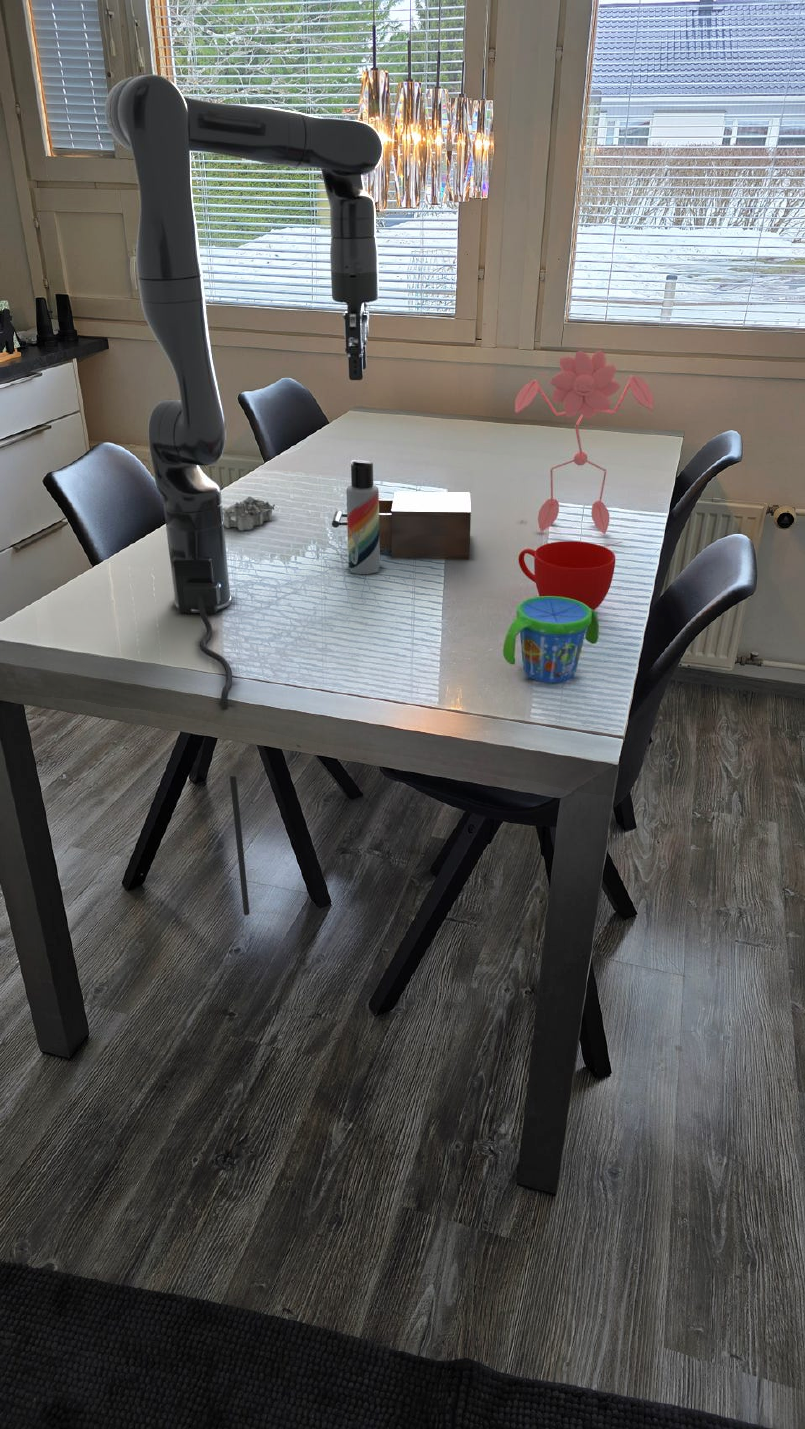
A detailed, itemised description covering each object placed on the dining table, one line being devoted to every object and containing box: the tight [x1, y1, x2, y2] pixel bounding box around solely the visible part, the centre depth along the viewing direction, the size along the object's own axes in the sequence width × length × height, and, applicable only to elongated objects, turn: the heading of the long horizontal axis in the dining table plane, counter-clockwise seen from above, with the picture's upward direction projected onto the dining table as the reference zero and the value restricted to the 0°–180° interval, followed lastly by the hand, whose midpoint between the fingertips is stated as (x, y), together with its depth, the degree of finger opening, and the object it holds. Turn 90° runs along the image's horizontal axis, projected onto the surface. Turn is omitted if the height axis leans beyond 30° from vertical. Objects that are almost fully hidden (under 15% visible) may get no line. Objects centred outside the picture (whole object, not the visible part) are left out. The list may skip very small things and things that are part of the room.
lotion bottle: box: [345, 459, 381, 575], centre depth 178 cm, size 6×6×20 cm
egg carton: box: [222, 496, 276, 531], centre depth 206 cm, size 11×8×4 cm
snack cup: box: [502, 596, 600, 684], centre depth 144 cm, size 16×10×10 cm
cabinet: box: [391, 491, 472, 560], centre depth 191 cm, size 15×12×9 cm
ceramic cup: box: [517, 540, 616, 611], centre depth 165 cm, size 13×17×10 cm
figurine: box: [514, 350, 655, 548], centre depth 190 cm, size 15×26×35 cm, turn 80°
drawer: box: [331, 498, 393, 551], centre depth 191 cm, size 18×11×7 cm, turn 88°
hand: (357, 374), depth 166 cm, fingers open, 8 cm apart
